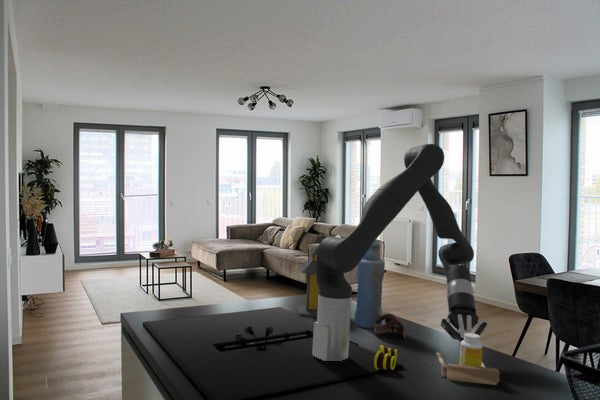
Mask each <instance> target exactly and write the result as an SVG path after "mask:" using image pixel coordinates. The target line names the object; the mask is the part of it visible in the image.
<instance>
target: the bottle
mask: <svg viewBox="0 0 600 400" xmlns="http://www.w3.org/2000/svg"><path fill="white" fill-rule="evenodd" d="M380 248H381V242H379V240H378V239H376V240H375V241H374V243H373V244H372V245H371V247H370V248H369V250H368V251H367V253H366V254H365V255H364V257H363V258H362V260H361V261H360V263H359V264H358V265H357V266H356V275H357V288H356V289H357V290H356V291H357V293H356V309H355V312H354V325H355V326H356V327H359V328H364V329H375V325H374V324H375V320H376V319H377V318H379V317H380V316H382V315H384V314H383V310H382V295H383V278H384V274H385V268H386V267H385V263H386V261H385V260H384V259H381V249H380ZM378 325H383V321H381V322H379V324H378Z"/></svg>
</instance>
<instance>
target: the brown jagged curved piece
mask: <svg viewBox="0 0 600 400" xmlns="http://www.w3.org/2000/svg"><path fill="white" fill-rule="evenodd" d="M381 321H382V322H383V321H384V322H385V324H382V325H378V324H379V322H381ZM374 325H375V328H374V335H375V336H377V335H378V334H385V333H392V332H394V331H395V330H396V335H402V337H403V340H405V339H406V332H405V327H404V324H403V322H402V321H401V320H400V319H399V318H398V317H396V316H395V315H394V314H393V313H384V314H383V315H382V316H380V317H379V318H377V319H376V320H375V324H374Z"/></svg>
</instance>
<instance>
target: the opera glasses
mask: <svg viewBox="0 0 600 400" xmlns="http://www.w3.org/2000/svg"><path fill="white" fill-rule="evenodd" d="M397 358H398V349H393V348H391V347H385V346H384V345H383V344H380V345H379V348H378V351H377V352H376V354H375V357H374V360H373V366H374V367H373V368H375V370H376V371H379V369H380V370H381V369H382V370H391V371H393V370H395V367H396V364H397V361H398V360H397Z"/></svg>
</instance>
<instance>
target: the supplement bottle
mask: <svg viewBox="0 0 600 400" xmlns="http://www.w3.org/2000/svg"><path fill="white" fill-rule="evenodd" d="M464 333H465V332H464ZM459 346H460V347H459V361H458V362H459V363H458V365H467V366H477V367H481V365H482V363H483V360H482V359H483V344H482V342H481V335H480V336H479V335H477V334H474V333H472V332H471V333H465V334H464V340H463V341H461V344H460V343H459Z"/></svg>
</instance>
